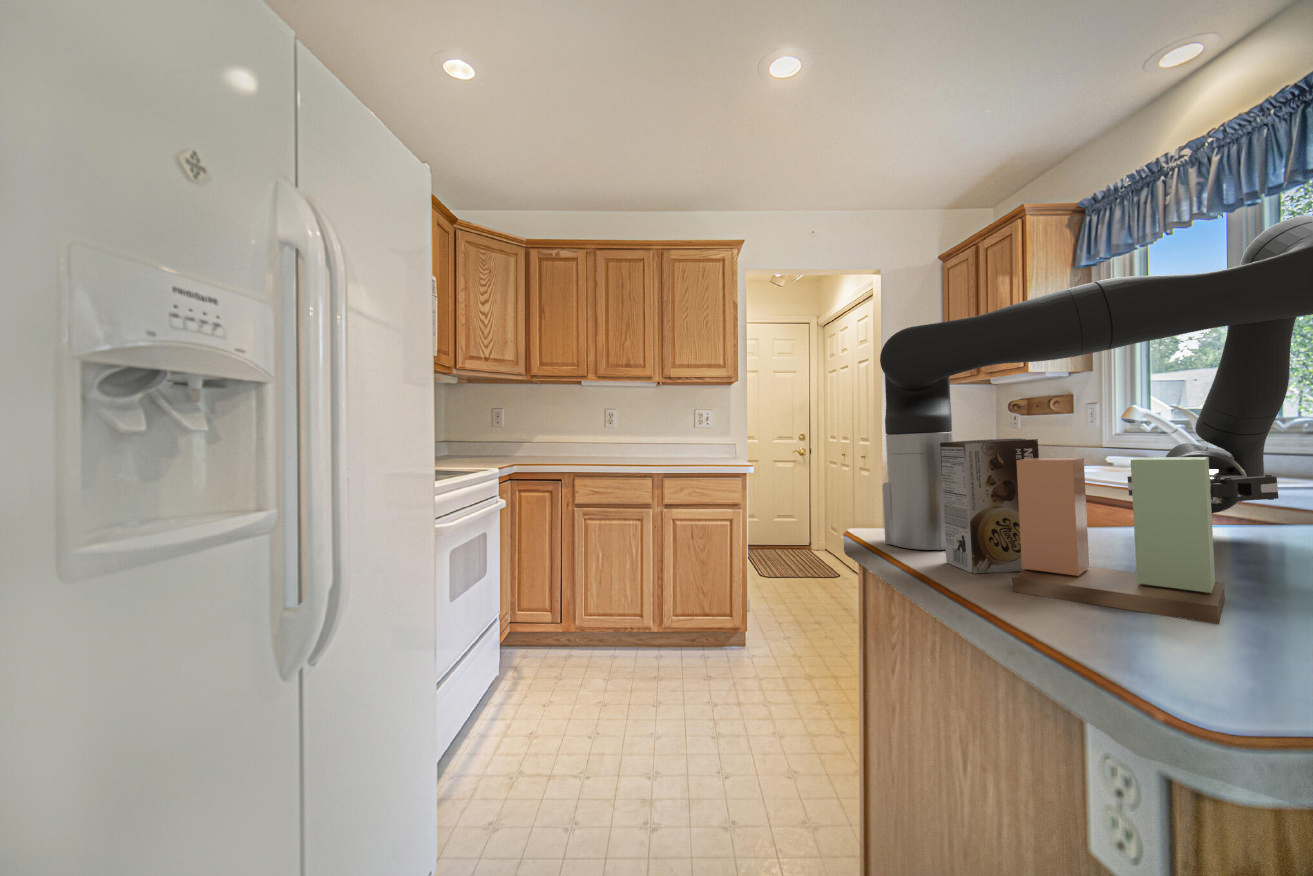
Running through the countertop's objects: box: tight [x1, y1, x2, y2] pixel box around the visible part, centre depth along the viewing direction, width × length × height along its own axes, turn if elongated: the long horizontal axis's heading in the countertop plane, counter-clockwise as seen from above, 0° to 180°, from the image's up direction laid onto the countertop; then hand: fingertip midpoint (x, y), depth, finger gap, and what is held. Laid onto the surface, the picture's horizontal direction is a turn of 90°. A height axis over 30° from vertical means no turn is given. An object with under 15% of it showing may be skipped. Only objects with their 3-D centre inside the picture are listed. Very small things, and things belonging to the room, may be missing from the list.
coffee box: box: [940, 438, 1040, 574], centre depth 67 cm, size 9×6×16 cm
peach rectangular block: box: [1017, 457, 1090, 576], centre depth 58 cm, size 5×5×12 cm
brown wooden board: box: [1011, 566, 1226, 625], centre depth 54 cm, size 15×10×2 cm, turn 41°
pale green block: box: [1130, 456, 1216, 593], centre depth 51 cm, size 5×5×12 cm
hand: (1190, 493), depth 57 cm, fingers closed
